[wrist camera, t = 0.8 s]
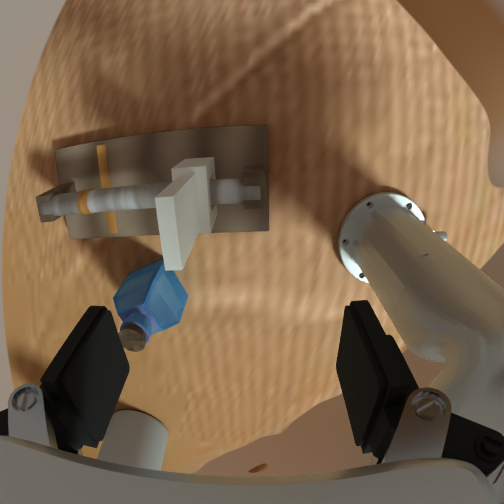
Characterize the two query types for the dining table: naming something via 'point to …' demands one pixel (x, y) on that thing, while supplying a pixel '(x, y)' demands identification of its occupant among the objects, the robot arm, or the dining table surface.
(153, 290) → the perfume bottle
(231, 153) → the pipe stand
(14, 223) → the dining table surface
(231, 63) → the dining table surface
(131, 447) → the cylinder vase
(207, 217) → the white l-shaped bracket
